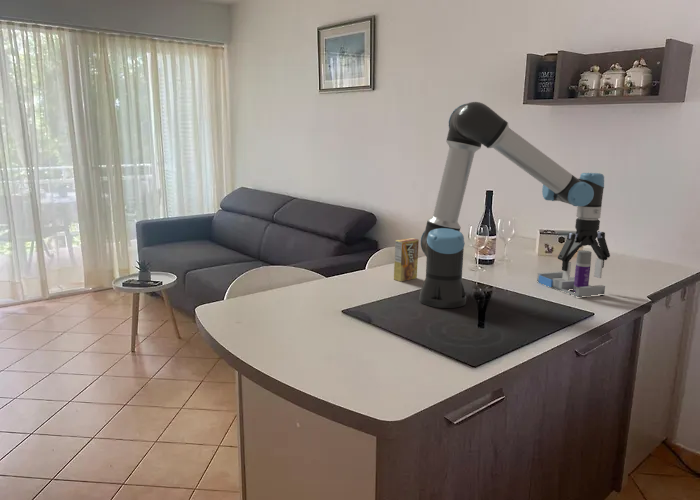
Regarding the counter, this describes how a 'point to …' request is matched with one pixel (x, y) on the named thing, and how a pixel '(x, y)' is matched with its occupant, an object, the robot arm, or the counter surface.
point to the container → (582, 269)
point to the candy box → (406, 259)
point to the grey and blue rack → (568, 284)
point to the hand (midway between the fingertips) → (581, 278)
